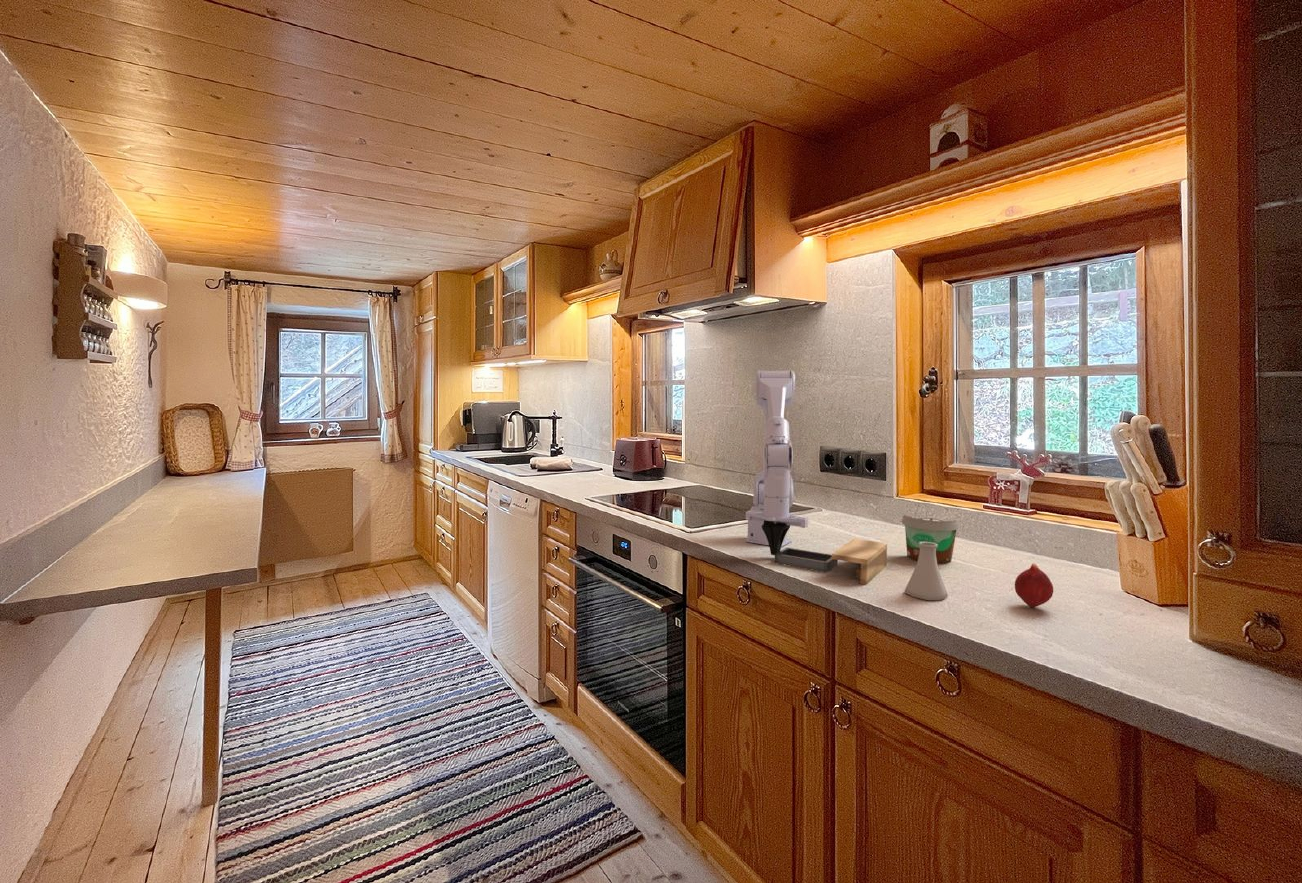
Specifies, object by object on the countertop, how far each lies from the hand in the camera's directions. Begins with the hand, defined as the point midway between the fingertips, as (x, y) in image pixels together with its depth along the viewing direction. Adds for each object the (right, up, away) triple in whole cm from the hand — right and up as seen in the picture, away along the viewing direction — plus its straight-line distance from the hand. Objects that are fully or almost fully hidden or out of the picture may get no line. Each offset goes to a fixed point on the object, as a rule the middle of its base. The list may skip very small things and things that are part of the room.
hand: (775, 554), depth 138 cm
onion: (+40, -4, -31) cm, 50 cm away
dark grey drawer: (+6, -2, -4) cm, 7 cm away
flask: (+24, -3, -24) cm, 34 cm away
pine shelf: (+16, -2, -10) cm, 19 cm away
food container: (+35, -2, -1) cm, 35 cm away
